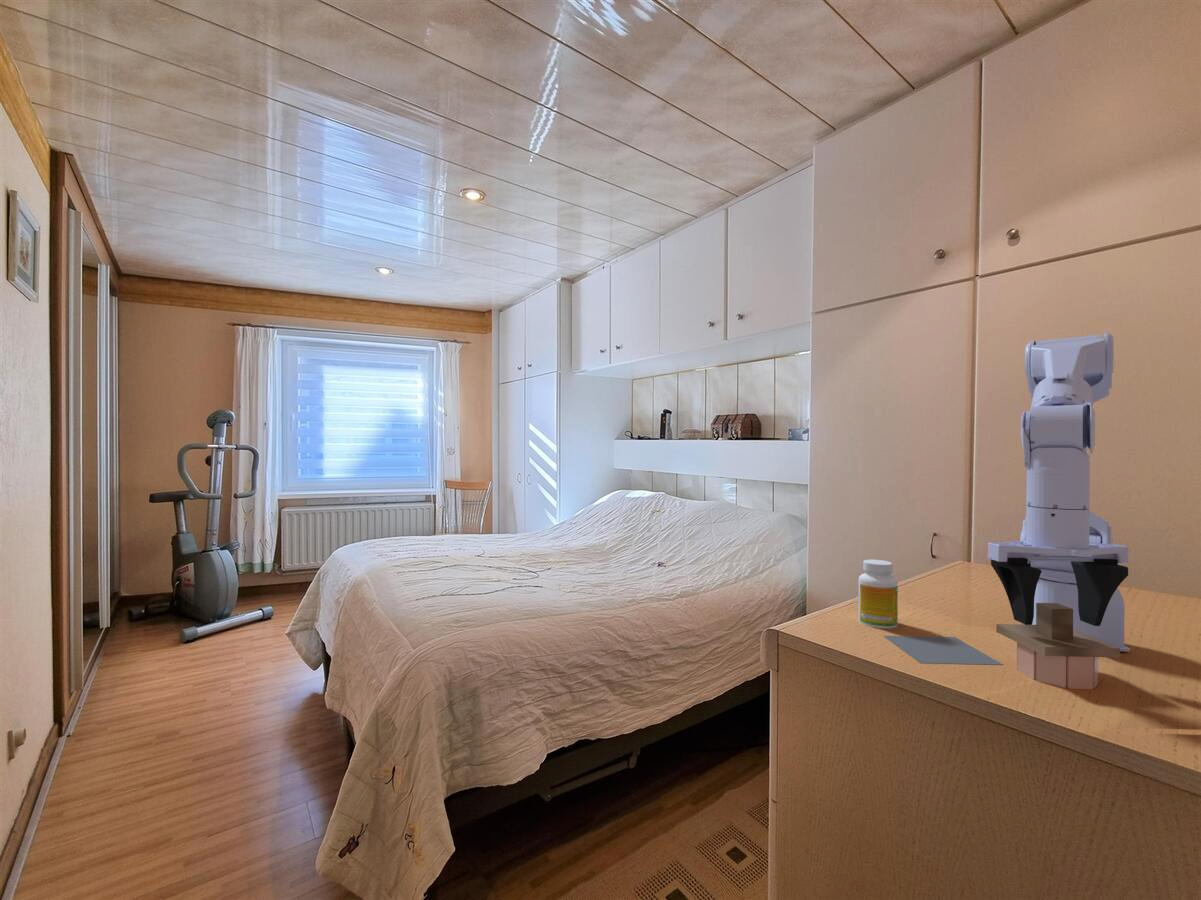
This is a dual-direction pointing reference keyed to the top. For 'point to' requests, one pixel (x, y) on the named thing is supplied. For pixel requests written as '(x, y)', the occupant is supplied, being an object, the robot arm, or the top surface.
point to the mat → (941, 650)
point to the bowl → (1058, 669)
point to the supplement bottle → (878, 595)
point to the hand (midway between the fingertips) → (1056, 622)
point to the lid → (1056, 634)
